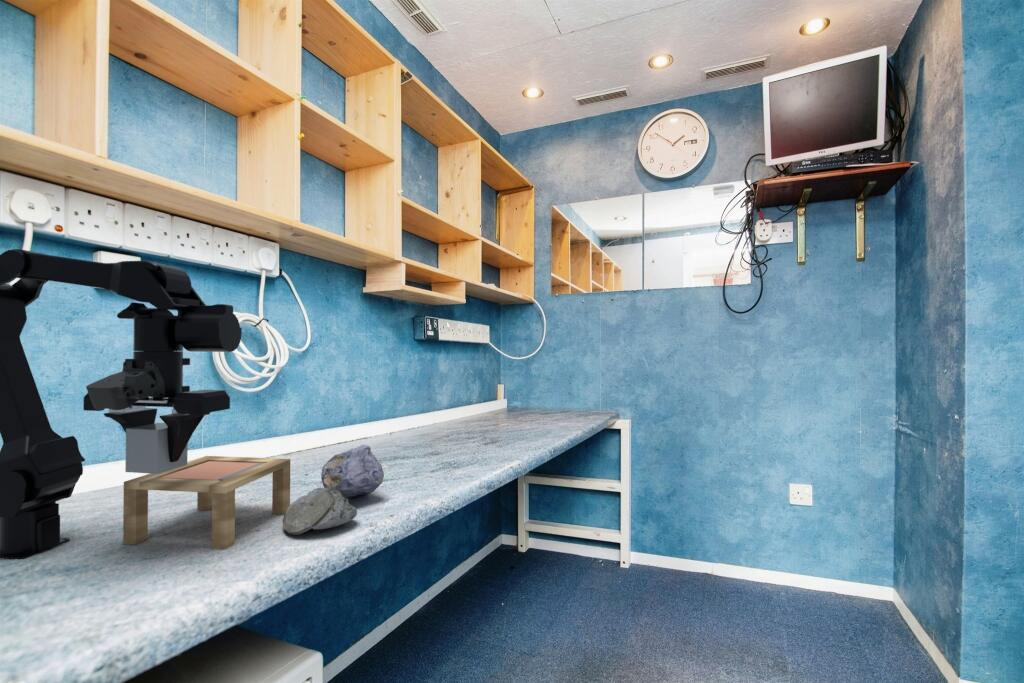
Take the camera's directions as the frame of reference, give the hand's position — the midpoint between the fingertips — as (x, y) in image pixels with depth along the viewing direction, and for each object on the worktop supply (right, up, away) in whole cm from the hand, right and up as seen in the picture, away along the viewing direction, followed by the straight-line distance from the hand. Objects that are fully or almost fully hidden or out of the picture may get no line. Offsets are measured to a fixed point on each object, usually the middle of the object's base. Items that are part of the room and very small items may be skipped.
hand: (157, 460), depth 68 cm
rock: (+20, -13, +21) cm, 32 cm away
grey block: (0, -1, 0) cm, 1 cm away
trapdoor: (+3, -4, +8) cm, 10 cm away
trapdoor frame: (+3, -13, +8) cm, 15 cm away
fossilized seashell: (+16, -15, +10) cm, 24 cm away
